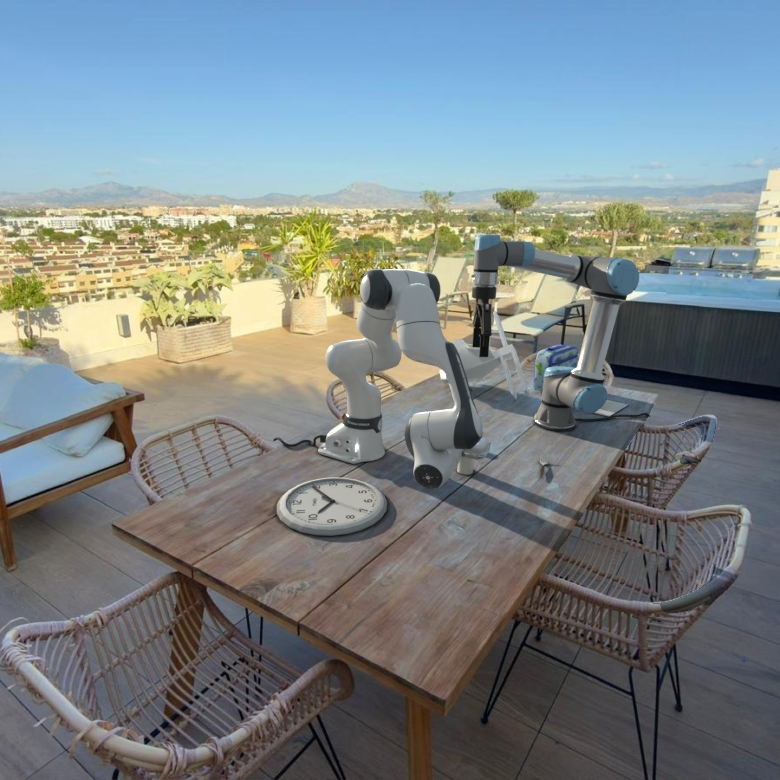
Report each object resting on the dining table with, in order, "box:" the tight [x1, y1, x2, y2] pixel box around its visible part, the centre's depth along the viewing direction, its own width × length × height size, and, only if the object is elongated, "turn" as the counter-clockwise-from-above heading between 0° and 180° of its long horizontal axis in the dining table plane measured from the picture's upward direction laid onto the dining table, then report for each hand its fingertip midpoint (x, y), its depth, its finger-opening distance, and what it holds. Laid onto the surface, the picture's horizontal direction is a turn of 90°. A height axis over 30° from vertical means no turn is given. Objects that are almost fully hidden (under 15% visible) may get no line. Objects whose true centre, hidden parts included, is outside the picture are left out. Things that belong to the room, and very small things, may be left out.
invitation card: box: [593, 399, 629, 417], centre depth 226 cm, size 21×1×15 cm
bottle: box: [456, 457, 475, 476], centre depth 161 cm, size 5×5×22 cm
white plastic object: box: [438, 310, 531, 400], centre depth 245 cm, size 37×45×31 cm
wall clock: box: [276, 476, 388, 537], centre depth 142 cm, size 30×2×30 cm
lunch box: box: [533, 344, 579, 392], centre depth 247 cm, size 26×11×21 cm, turn 134°
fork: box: [539, 453, 550, 478], centre depth 166 cm, size 3×16×2 cm, turn 160°
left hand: (458, 432), depth 149 cm, fingers open, 8 cm apart
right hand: (479, 352), depth 170 cm, fingers open, 13 cm apart
